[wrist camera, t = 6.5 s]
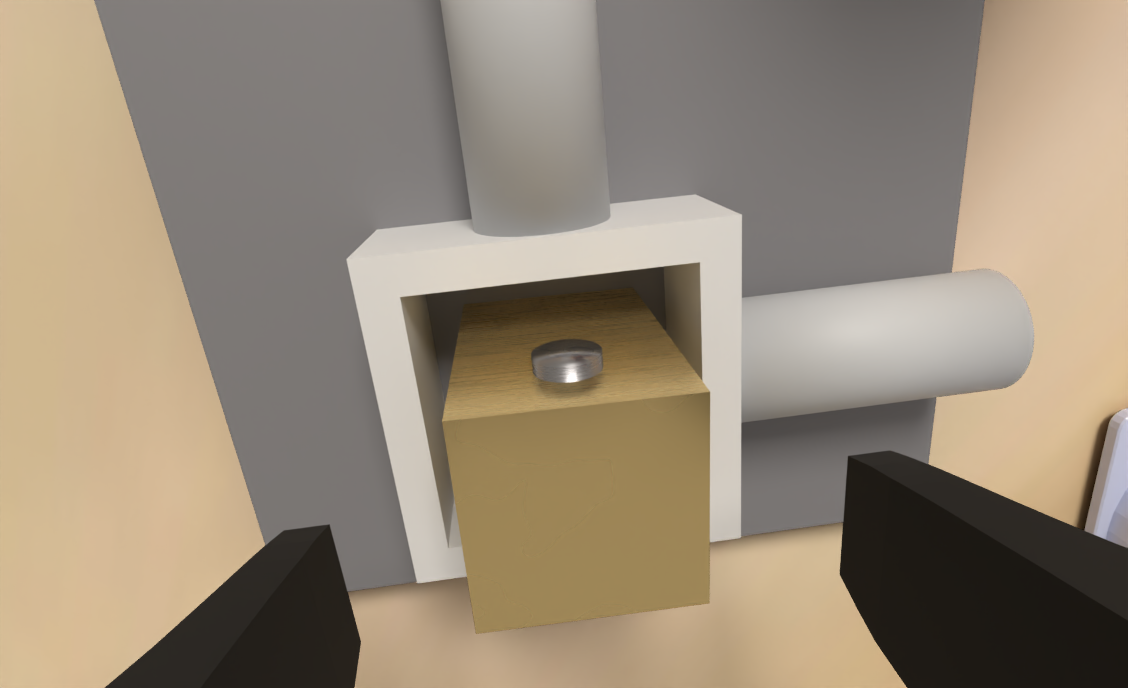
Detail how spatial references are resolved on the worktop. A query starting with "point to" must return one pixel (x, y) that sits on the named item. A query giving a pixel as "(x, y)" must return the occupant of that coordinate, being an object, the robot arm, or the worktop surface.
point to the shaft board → (394, 151)
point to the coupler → (577, 461)
